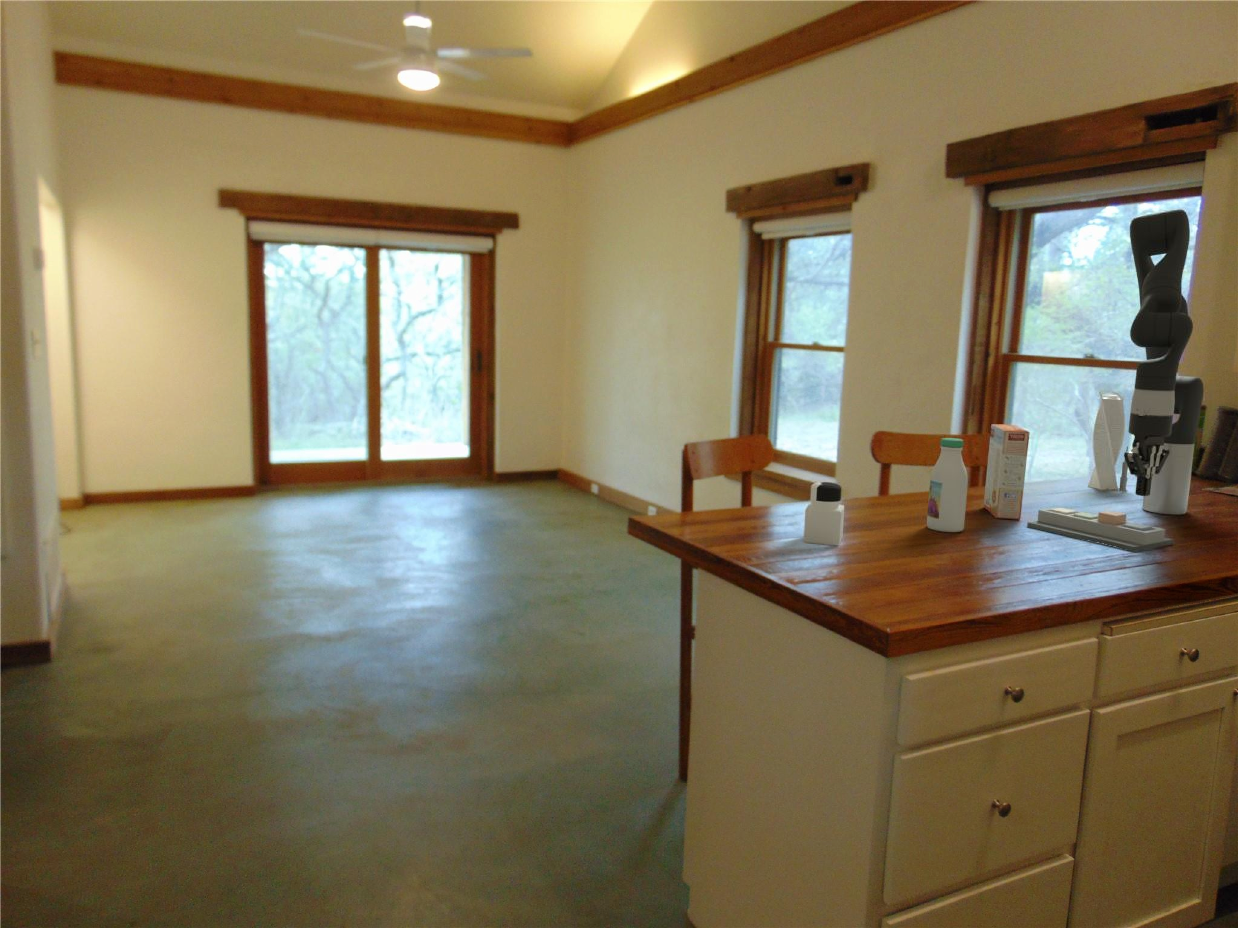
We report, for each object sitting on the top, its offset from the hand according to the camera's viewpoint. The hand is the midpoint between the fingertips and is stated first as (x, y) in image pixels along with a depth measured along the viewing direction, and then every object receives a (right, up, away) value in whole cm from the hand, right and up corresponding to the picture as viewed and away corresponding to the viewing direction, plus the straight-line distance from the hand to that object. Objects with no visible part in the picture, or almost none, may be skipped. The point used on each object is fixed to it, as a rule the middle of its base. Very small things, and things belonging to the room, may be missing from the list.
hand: (1142, 495), depth 182 cm
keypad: (-5, -9, +9) cm, 13 cm away
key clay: (-3, -7, +6) cm, 10 cm away
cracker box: (-16, -6, +29) cm, 34 cm away
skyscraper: (+28, -1, +64) cm, 70 cm away
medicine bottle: (-66, -10, -1) cm, 67 cm away
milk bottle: (-36, -8, +12) cm, 39 cm away
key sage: (-6, -7, +11) cm, 14 cm away
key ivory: (-9, -7, +16) cm, 19 cm away
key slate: (0, -9, +1) cm, 9 cm away
